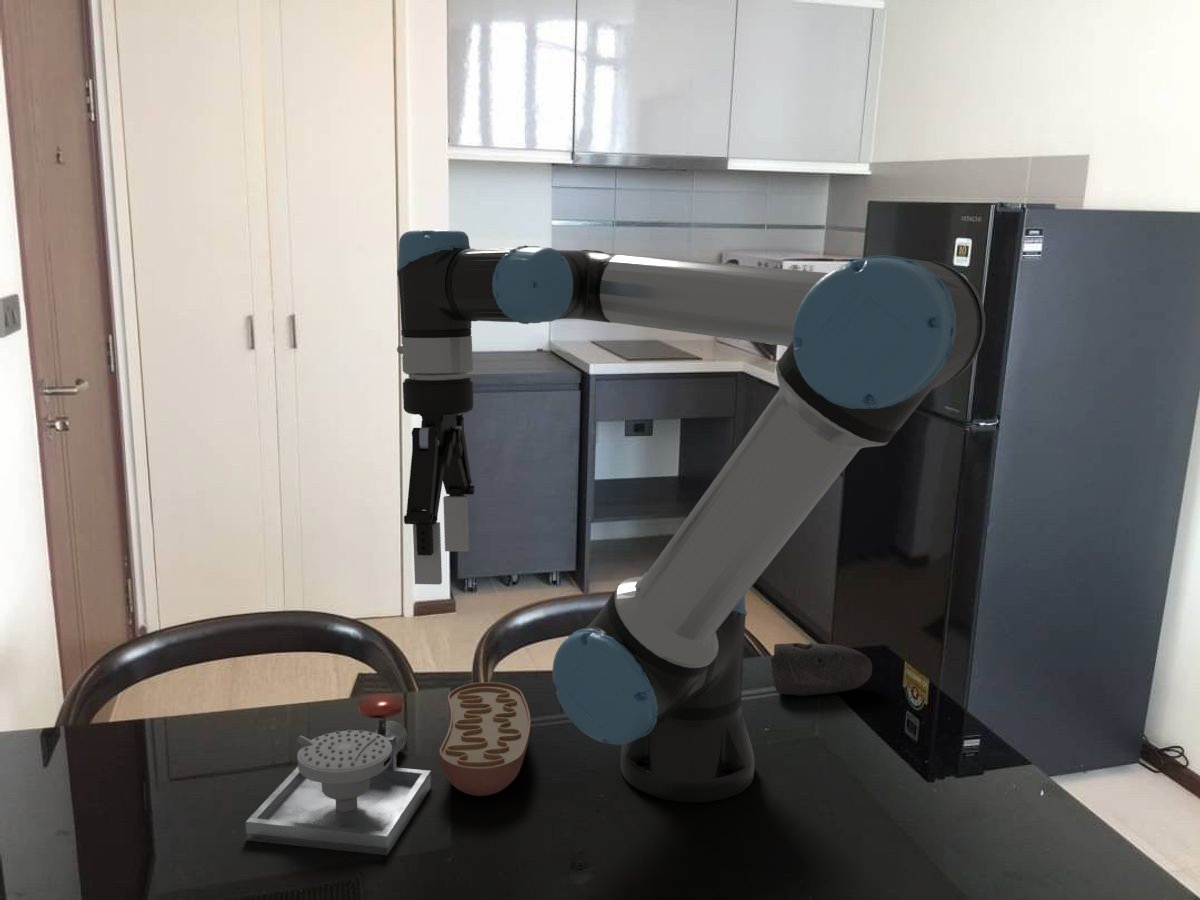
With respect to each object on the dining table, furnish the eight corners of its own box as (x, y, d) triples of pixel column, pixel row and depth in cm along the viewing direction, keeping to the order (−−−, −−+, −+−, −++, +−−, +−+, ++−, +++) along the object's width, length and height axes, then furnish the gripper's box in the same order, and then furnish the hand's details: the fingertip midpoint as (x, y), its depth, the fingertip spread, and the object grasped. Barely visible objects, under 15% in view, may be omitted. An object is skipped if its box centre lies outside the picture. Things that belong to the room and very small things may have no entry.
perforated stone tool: (863, 682, 145) (866, 635, 144) (879, 697, 140) (882, 648, 139) (760, 687, 143) (762, 638, 142) (771, 702, 138) (774, 652, 137)
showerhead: (318, 717, 112) (405, 726, 110) (320, 779, 113) (406, 789, 111) (274, 755, 103) (368, 766, 101) (276, 823, 104) (370, 835, 102)
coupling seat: (387, 855, 100) (385, 784, 99) (246, 840, 103) (243, 770, 101) (452, 754, 121) (451, 694, 120) (334, 744, 124) (332, 685, 122)
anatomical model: (450, 719, 131) (449, 682, 130) (529, 718, 132) (529, 681, 131) (436, 813, 109) (436, 769, 108) (532, 811, 110) (532, 766, 109)
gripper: (431, 367, 125) (437, 538, 129) (368, 387, 101) (377, 598, 104) (493, 367, 125) (497, 539, 128) (445, 387, 100) (451, 600, 104)
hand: (443, 566), depth 116 cm, fingers open, 13 cm apart
